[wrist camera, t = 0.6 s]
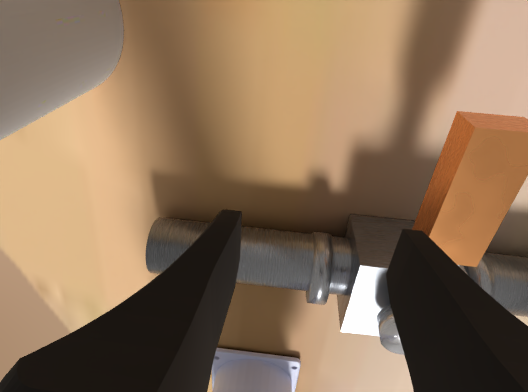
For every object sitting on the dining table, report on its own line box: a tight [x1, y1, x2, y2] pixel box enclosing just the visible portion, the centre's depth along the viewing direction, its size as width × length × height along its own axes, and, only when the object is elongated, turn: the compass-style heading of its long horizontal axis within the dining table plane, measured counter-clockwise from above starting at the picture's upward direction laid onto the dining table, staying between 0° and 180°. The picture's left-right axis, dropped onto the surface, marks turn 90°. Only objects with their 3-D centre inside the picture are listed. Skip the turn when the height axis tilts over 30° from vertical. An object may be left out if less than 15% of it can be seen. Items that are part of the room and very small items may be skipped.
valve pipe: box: [146, 214, 528, 336], centre depth 21 cm, size 6×30×5 cm, turn 87°
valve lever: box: [376, 111, 528, 354], centre depth 16 cm, size 13×3×2 cm, turn 177°
